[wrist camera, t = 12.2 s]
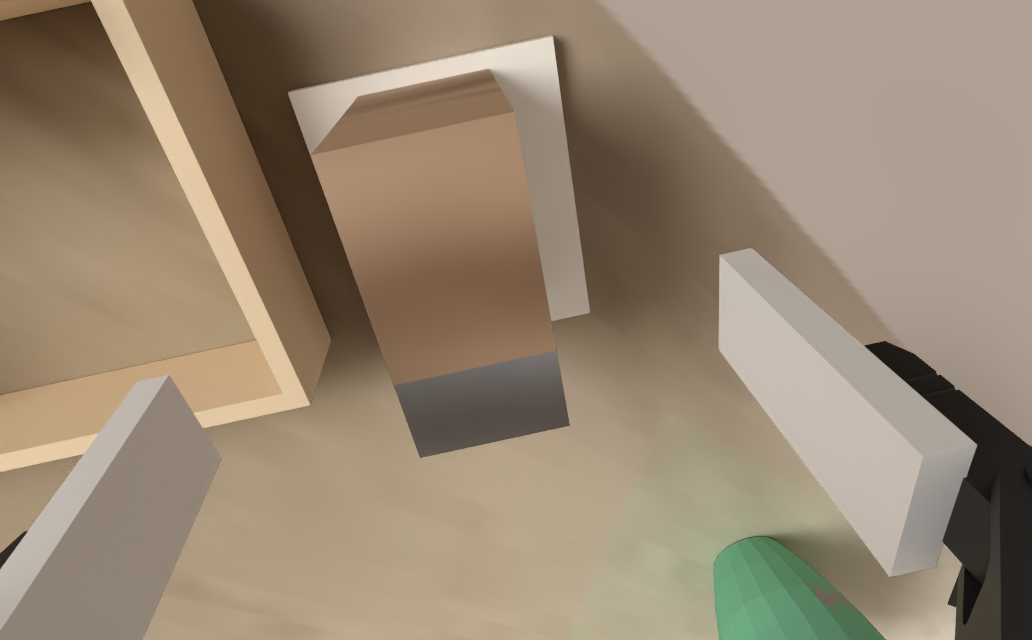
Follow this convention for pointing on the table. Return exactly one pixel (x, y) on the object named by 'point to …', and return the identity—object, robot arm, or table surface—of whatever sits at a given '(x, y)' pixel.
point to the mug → (780, 597)
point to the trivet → (541, 133)
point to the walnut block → (447, 258)
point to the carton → (229, 229)
